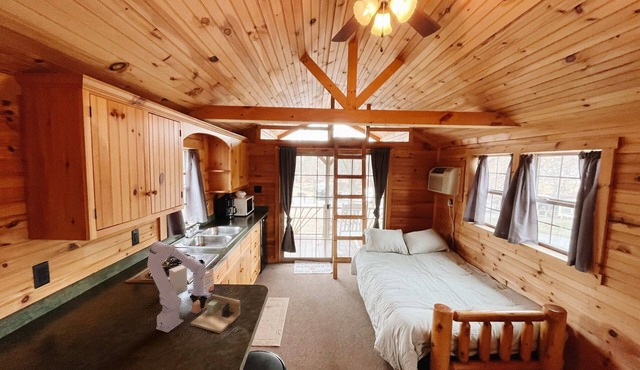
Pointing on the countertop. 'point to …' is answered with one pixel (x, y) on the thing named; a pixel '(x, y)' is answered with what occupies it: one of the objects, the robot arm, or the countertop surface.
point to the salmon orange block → (197, 306)
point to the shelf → (218, 315)
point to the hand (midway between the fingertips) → (199, 307)
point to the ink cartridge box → (209, 280)
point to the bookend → (226, 311)
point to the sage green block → (213, 306)
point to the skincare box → (178, 279)
